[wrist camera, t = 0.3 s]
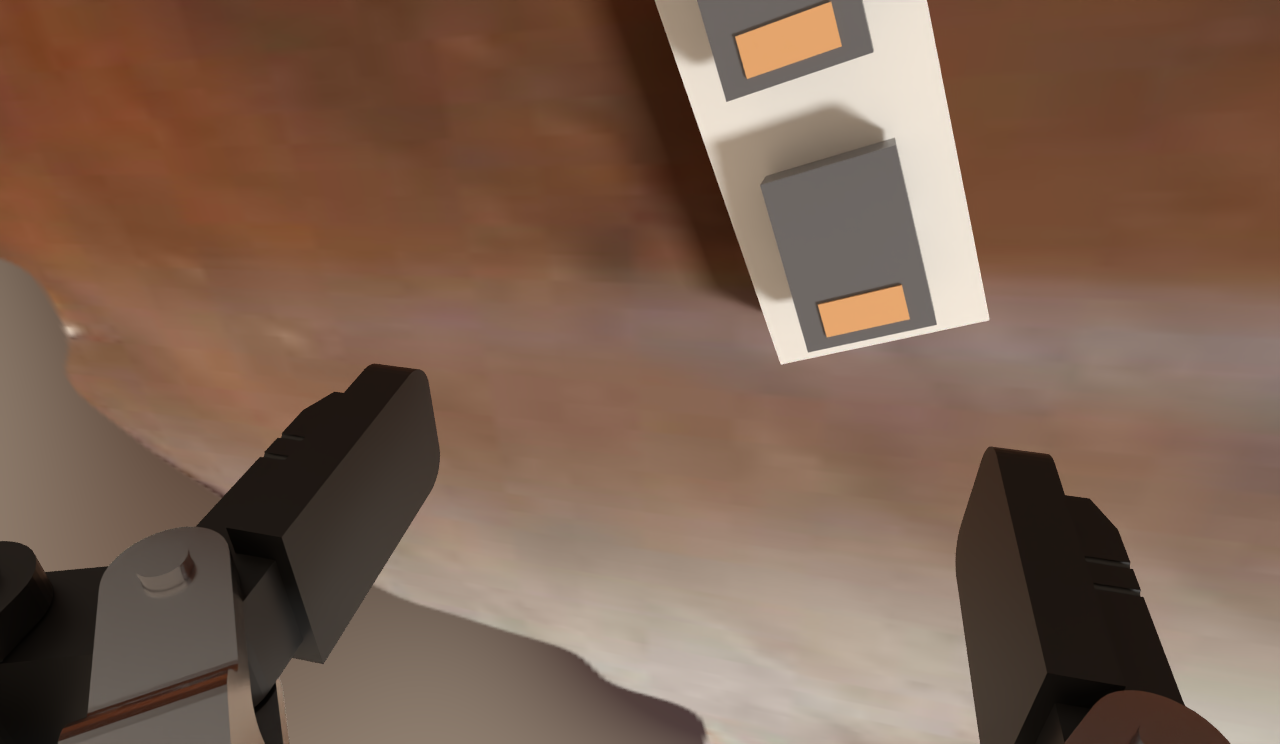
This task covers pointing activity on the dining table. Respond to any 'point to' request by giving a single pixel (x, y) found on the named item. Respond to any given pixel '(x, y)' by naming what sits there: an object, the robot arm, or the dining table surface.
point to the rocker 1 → (781, 39)
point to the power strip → (827, 126)
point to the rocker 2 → (850, 247)
